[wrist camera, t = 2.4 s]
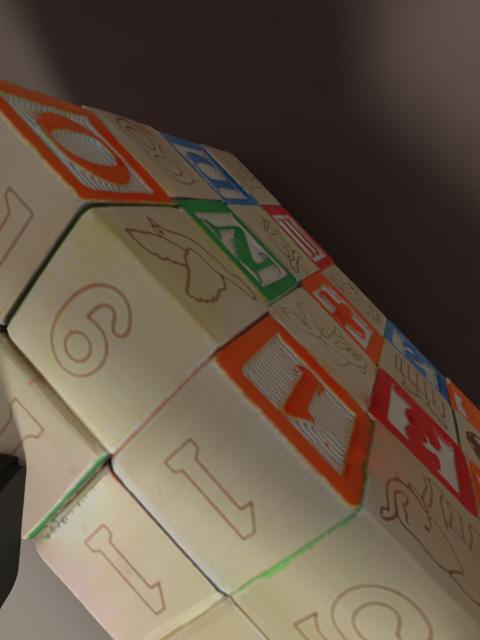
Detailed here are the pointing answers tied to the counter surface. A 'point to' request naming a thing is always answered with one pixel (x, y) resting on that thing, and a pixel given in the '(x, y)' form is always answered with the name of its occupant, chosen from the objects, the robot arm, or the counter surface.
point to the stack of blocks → (216, 402)
